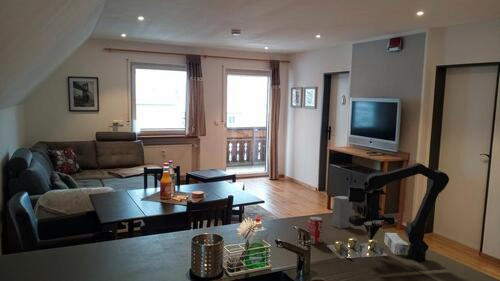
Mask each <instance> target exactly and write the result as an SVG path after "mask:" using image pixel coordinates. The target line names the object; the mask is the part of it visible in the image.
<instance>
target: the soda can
mask: <svg viewBox="0 0 500 281" xmlns="http://www.w3.org/2000/svg"><path fill="white" fill-rule="evenodd" d="M306 227H307V228H306V229H307V230H306V232H307V231H309V232H310V233H311V243H310V244H313V245H320V244H322V243H323V235H324V234H323V230H324V221H323V217H321V216H317V215H316V216H315V215H312V216H309V217H308V220H307V226H306Z"/></svg>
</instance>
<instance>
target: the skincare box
mask: <svg viewBox="0 0 500 281" xmlns="http://www.w3.org/2000/svg"><path fill="white" fill-rule="evenodd" d="M332 207H333V208H332V222H331V223H332V227H336V228H338V229H340V230H342V229H346V228H351V227H352V224H351V223H350V222H349V217H350V216H353V202H348V195H347V196H345V195H338V196H333V205H332Z"/></svg>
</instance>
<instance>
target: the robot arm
mask: <svg viewBox="0 0 500 281" xmlns="http://www.w3.org/2000/svg"><path fill="white" fill-rule="evenodd" d="M417 175H422V176H424V177H426V178H427V182H426V183H427V185H426V191H425V194H424V196H423V198H422V200H421V203H420V205H419V207H418V210H417V212H416V215H415V216H414V219H413V220H412V221H411V222H409V221H406V225H405V228H404V229H403V231H404V237H405V238H406V239H407V241H408V242H409V246H408V257H409V259H410V260H412V261H415V262H417V263H425V262H426V256H427V255H426V254H427V251H428V249H429V248H430V247H429V245H428V243H426V241H425V240H424V238H425V234H426V233H425V230H426V224H427V222H428V220H429V217H430V215H431V212H432V210H433V208H434V206H435V203H436V202H437V201H436V200H437V199H438V197H439V195H440V194H441V193H442V192H443V191H444V190H445V188H446V187H447V186H448V184H449V182H450V178H449V175H448V174H447V173H446V172H443V171H441V170H439V169H432V168H430V167H427V166H425V165H424V164H422V163H421V162H416V163H414V164H410V165H408V166H404V167H401V168H398V169H394V170H389V171H385V172H384V171H383V172H382V171H381V172H373V173H369V174H368V175H367V177H366V180H365V181H364V183H363V184H361V186H353V185H349V186H348V190H347V191H348V192H347V197H348V202H353V203H354V204H355V203H358V204H362V203H364V202H365V204H363V207H361V205H355V206H354V214H356V215H352V216H350V217H349V222H350V223H351V225H352V226H354V227H362V226H364V228H365V230H366V234H367V237H368V239H370V240H372V239H374V238H375V235H376V234H377V233H378V231H379V230H380V229H381V228H383V224H382V223H383V222H386V224H388V225H389V226H390V225H396V224H395V223H396V219H395V217H393V216H392V215H390V214H387V213H386V214H385V213H383V214H380V211H382V207H381V196H382V195H384V196H385V195H387V193H386V191H384V189H383V187H385V186H387V185H388V184H390V183H392V182H396V181H399V180H403V179H406V178H409V177H413V176H417ZM353 203H352V204H353ZM357 214H358V215H357Z"/></svg>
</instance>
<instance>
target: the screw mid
mask: <svg viewBox="0 0 500 281" xmlns="http://www.w3.org/2000/svg"><path fill="white" fill-rule="evenodd" d="M358 239H359V238H356V237H353V236H351V237H350V236H349V237H348V240H347V244H348V247H350V248H355V249H356V250H357V251H358V252H362V245H361V244H362V243H360V242H359V240H358Z"/></svg>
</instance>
